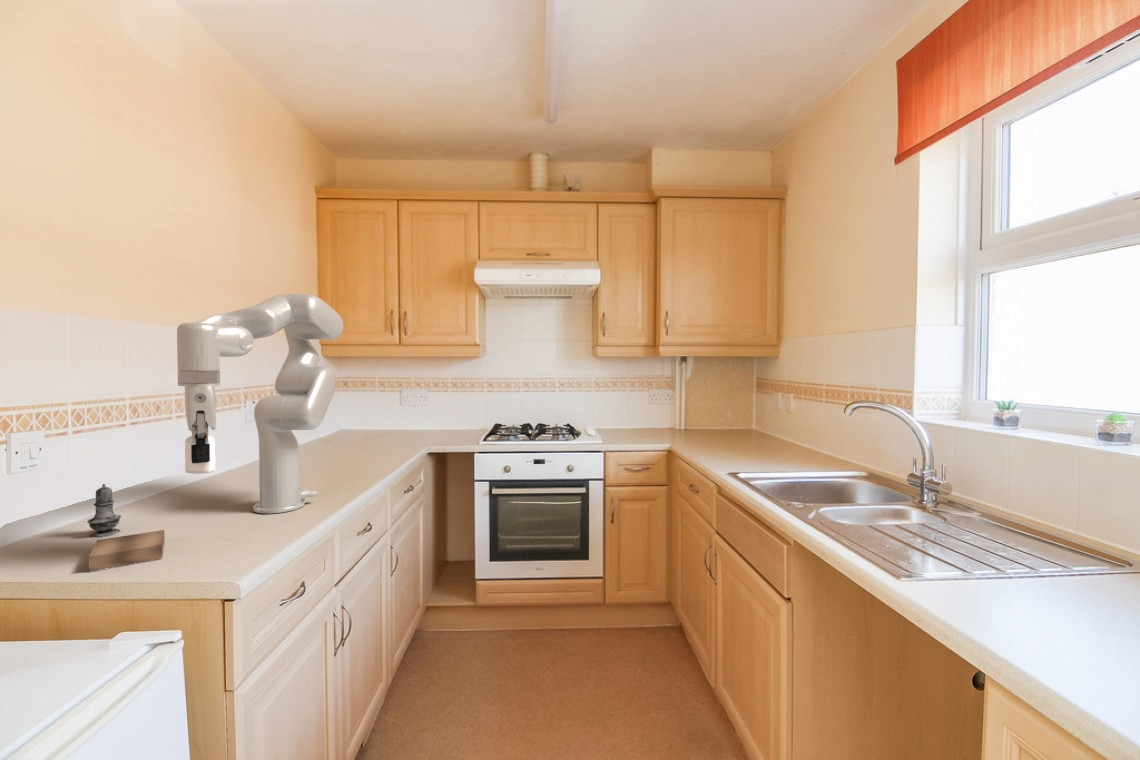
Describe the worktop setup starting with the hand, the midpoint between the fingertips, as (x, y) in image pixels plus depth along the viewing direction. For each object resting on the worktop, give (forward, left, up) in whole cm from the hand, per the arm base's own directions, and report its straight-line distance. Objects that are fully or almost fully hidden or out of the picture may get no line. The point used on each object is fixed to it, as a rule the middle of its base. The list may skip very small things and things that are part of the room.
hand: (200, 459), depth 109 cm
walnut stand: (+12, -1, -19) cm, 23 cm away
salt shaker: (+18, -22, -20) cm, 35 cm away
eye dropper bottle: (0, 0, -3) cm, 3 cm away
